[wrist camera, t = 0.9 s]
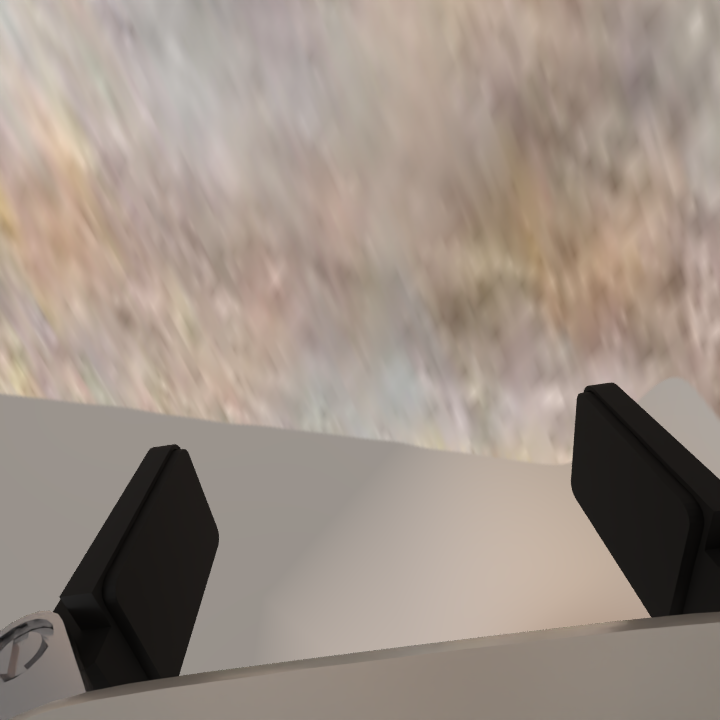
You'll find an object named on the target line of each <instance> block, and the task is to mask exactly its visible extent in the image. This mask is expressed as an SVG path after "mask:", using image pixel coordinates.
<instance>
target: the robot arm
mask: <svg viewBox="0 0 720 720" xmlns="http://www.w3.org/2000/svg"><path fill="white" fill-rule="evenodd" d="M571 486H572V491H573V494H574V496H575V498H576V500H577V501H578V503H579V504H580V506H581V508H582V509H583V511H584V512H585V514H586V515H587V517H588V518H589V520H590V522H591V523H592V525H593V526H594V528H595V530H596V531H597V533H598V534H599V536H600V537H601V539H602V540H603V542H604V544H605V545H606V547H607V548H608V550H609V551H610V553H611V555H612V556H613V558H614V559H615V561H616V563H617V564H618V566H619V567H620V569H621V570H622V572H623V573H624V575H625V577H626V578H627V580H628V581H629V583H630V584H631V586H632V588H633V589H634V591H635V592H636V594H637V595H638V597H639V599H640V600H641V602H642V603H643V605H644V606H645V608H646V609H647V611H648V613H649V614H650V616H651V617H652V618H643V619H633V620H623V621H614V622H605V623H596V624H588V625H580V626H571V627H563V628H554V629H546V630H537V631H529V632H520V633H512V634H504V635H495V636H487V637H478V638H470V639H462V640H454V641H447V642H439V643H430V644H422V645H414V646H406V647H398V648H390V649H382V650H374V651H366V652H358V653H350V654H343V655H334V656H326V657H318V658H311V659H303V660H296V661H288V662H280V663H272V664H265V665H257V666H249V667H242V668H235V669H226V670H218V671H211V672H204V673H197V674H191V675H183V676H179V674H180V670H181V667H182V664H183V660H184V657H185V654H186V650H187V647H188V644H189V640H190V637H191V634H192V631H193V627H194V624H195V621H196V617H197V614H198V611H199V607H200V604H201V601H202V597H203V594H204V591H205V587H206V584H207V581H208V577H209V574H210V571H211V567H212V564H213V561H214V558H215V554H216V551H217V548H218V543H219V533H218V529H217V526H216V523H215V521H214V518H213V516H212V513H211V511H210V508H209V505H208V503H207V500H206V497H205V495H204V492H203V490H202V487H201V484H200V482H199V479H198V477H197V474H196V471H195V469H194V466H193V464H192V461H191V458H190V456H189V453H188V452H187V450H185V449H180V447H179V446H178V445H176V444H175V445H167V446H160V447H153V448H151V449H150V450H149V451H148V453H147V454H146V456H145V458H144V459H143V461H142V463H141V464H140V466H139V468H138V469H137V471H136V473H135V474H134V476H133V477H132V479H131V481H130V482H129V484H128V485H127V487H126V489H125V491H124V492H123V494H122V496H121V497H120V499H119V500H118V502H117V504H116V505H115V507H114V508H113V510H112V512H111V513H110V515H109V517H108V519H107V520H106V522H105V523H104V525H103V527H102V528H101V530H100V531H99V533H98V535H97V536H96V538H95V540H94V542H93V543H92V545H91V546H90V548H89V549H88V551H87V553H86V554H85V556H84V558H83V559H82V561H81V563H80V564H79V566H78V568H77V569H76V571H75V572H74V574H73V576H72V577H71V579H70V581H69V582H68V584H67V586H66V587H65V589H64V590H63V592H62V594H61V595H60V601H59V603H58V605H57V606H56V608H55V610H54V611H53V612H51V611H40V612H35V613H32V614H29V615H26V616H24V617H22V618H20V619H18V620H16V621H14V622H12V623H10V624H9V625H8V626H6V627H5V628H4V629H2V630H1V631H0V720H720V479H719V478H717V477H716V476H715V475H714V474H713V473H712V472H711V471H710V470H709V469H708V468H707V467H705V466H704V465H703V464H702V463H701V462H700V461H699V460H698V459H697V458H695V456H694V455H692V454H691V453H690V452H689V451H688V450H687V449H686V448H685V447H684V446H683V445H682V444H681V443H679V442H678V441H677V440H676V439H675V438H674V437H673V436H672V435H671V434H670V433H668V432H667V431H666V430H665V429H664V428H663V427H662V426H661V425H660V424H659V423H658V422H657V421H655V420H654V419H653V418H652V417H651V416H650V415H649V414H648V413H647V412H646V411H645V410H644V409H642V408H641V407H640V406H639V405H638V404H637V403H636V402H635V401H634V400H633V399H632V398H630V397H629V396H628V395H627V394H626V393H625V392H624V391H623V390H622V389H621V388H620V387H619V386H617V385H616V384H615V383H605V384H598V385H591V386H587V387H586V388H585V390H584V393H580V394H578V396H577V405H576V419H575V433H574V446H573V460H572V475H571Z"/></svg>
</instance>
